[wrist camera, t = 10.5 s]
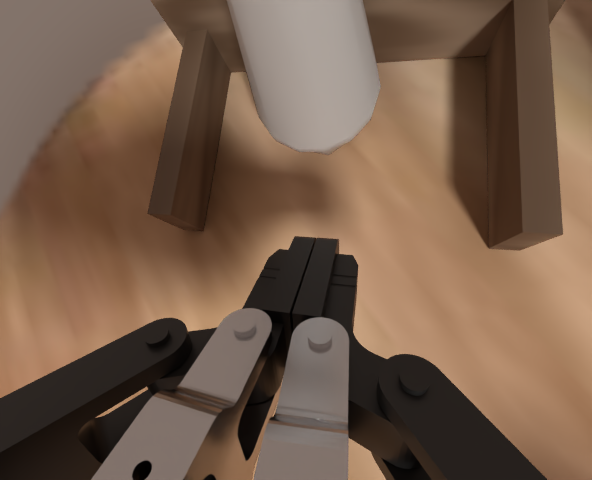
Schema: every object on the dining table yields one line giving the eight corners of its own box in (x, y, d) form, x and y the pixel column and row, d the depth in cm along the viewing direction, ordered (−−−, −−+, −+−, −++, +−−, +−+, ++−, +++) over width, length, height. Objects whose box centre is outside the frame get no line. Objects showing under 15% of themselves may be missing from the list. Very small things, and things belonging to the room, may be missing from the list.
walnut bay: (529, 32, 15) (630, -134, 10) (540, 251, 13) (679, 207, 7) (204, 57, 19) (138, -48, 14) (171, 228, 17) (75, 188, 11)
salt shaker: (267, 86, 18) (27, -409, 5) (367, 58, 17) (365, -662, 4) (278, 180, 17) (2, -168, 4) (386, 157, 15) (465, -424, 3)
